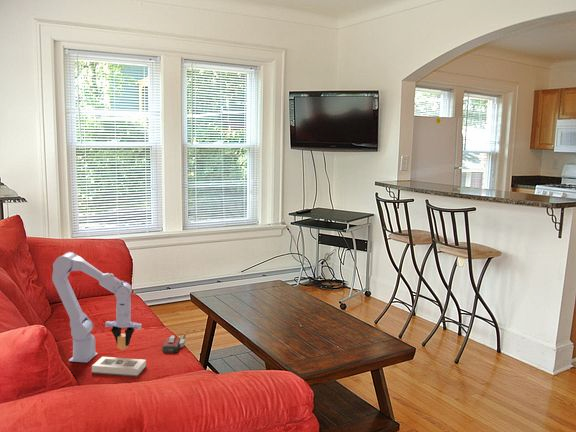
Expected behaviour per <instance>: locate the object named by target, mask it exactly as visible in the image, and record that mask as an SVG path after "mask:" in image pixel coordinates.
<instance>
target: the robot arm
mask: <svg viewBox="0 0 576 432" xmlns="http://www.w3.org/2000/svg"><path fill="white" fill-rule="evenodd" d="M52 268H53V269H52V277H51V279H52V280H51V281H52V283H53V285H54V287H55V290H56V292H57V294H58V295H59V298H60V300H61V302H62V305H63V307H64V309H65V311H66V313H67V315H68V318H69V327H70V334H71V338H72V357H71V358H69V359H68V362H75V363H89V362H90V361H91V360H92V359H94V358H95V356H97V355H98V352H96V338H95V336H94V335H93V334H91V333H92V332H91V331H92V330H93V329H94V323H93V320H91V319H90V318H89V317H88V315H87V314H86V313H85V312H83V309H82V308H81V306H80V303H79V301H78V299H77V296H76V294H75V291H74V290H73V288H72V285H71V282H70V281H69V277H68V276H69V275H70V273H71V272H77V271H81V272H83V273H84V274H86V275H88V276H90V277H92V278H93V279H95V280H97V281H98V283H99V286H101V287H103V288H104V289H106V290H108V291H109V292H110V293H113V294H114V297H115V298H116V302H115V303H116V305H115V306H116V307H115V310H116V311H115V319H116V320H113V321H112V320H111V321H109V320H107V321H105V326H104V327H105V328H111V329H110V331H111V333H112V334H113V336H114V339H115V342H116V344H117V337H118V336H119V335H120V334H121V333H122V329H124V334H125V335H126V346H128V345H130V344H131V343H130V342H131V339H132V336H133V333H134V331H135V330H139V331H140V330H141V329H142V323H139V322H135V321H132V320H131V319H132V318H131V317H132V316H131V315H132V314H131V313H132V312H131V311H132V298H131V294H132V292H133V287H132V285H131V284H130V283H129V282H127V281H125V280H121V279H120V278H118V277H116V276H115V275H114V273H110V272H106V273H104V272H102V271H101V270H99V269H98V268H96V267H95V266H93V265H92V264H90V263H89V262H88V261H86V260H85V259H84V258H83V257H81V256H80V255H78V254H76V253H74V252H73V251H72V252H71V251H68V252H65V253H64V254H63V255H60V256H58V257H57V258H56V259H55V260H54V262H53V264H52ZM128 347H129V346H128Z"/></svg>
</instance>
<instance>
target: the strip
mask: <svg viewBox="0 0 576 432" xmlns="http://www.w3.org/2000/svg"><path fill="white" fill-rule="evenodd" d="M146 368H147V359H142V358H141V359H140V358H127V357H126V358H125V357H112V356H101V357H100V358H99V359H97V361H96V362H95V363H93V364H92V365H91V374H97V375H98V374H99V375H109V376H110V375H112V376H125V377H139V376H140V374H141V373H142V372H143V371H144V370H145V369H146Z"/></svg>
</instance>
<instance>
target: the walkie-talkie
mask: <svg viewBox="0 0 576 432" xmlns="http://www.w3.org/2000/svg"><path fill="white" fill-rule="evenodd" d="M186 336H187V335H186V334H185V333H183V336H182V338H180V337H179V336H178V337H177V336H176V335H169V337H165V340H164V342H163V344H162V349H161V350H162V351H161V352H162V353H178V352H179V349H181V348H184V347H185V344H186Z"/></svg>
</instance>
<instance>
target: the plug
mask: <svg viewBox="0 0 576 432" xmlns="http://www.w3.org/2000/svg"><path fill="white" fill-rule="evenodd" d="M129 345H130V344H129ZM129 345H128V346H126V335H125V333H122V332H121V334H120V335H119V336H118V337H117V343H116V347H117V350H118V349H119V350H120V351H124V350H126V349H128V347H129Z"/></svg>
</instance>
